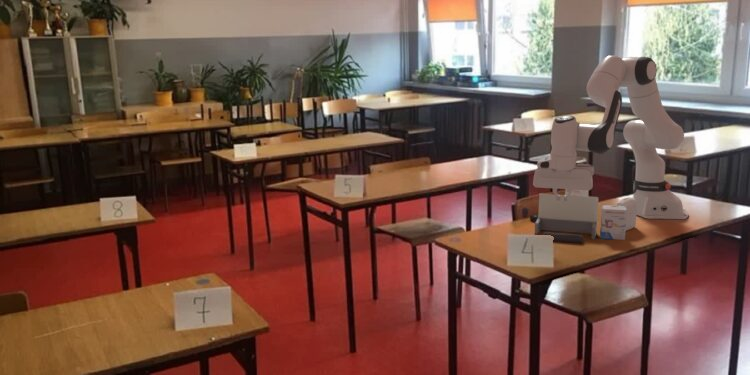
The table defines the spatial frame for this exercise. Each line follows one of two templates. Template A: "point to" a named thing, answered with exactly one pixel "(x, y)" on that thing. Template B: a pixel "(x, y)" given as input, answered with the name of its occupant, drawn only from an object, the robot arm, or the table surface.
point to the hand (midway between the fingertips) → (562, 200)
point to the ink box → (613, 222)
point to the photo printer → (629, 211)
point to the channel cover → (568, 208)
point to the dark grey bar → (566, 237)
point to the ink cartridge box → (577, 192)
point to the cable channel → (566, 226)
